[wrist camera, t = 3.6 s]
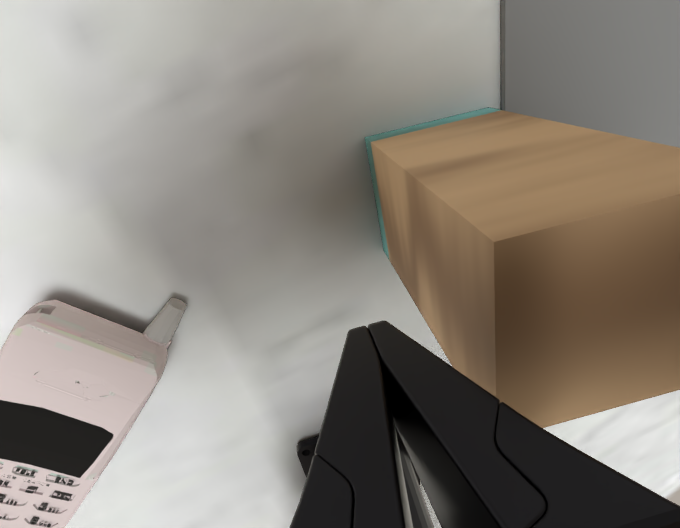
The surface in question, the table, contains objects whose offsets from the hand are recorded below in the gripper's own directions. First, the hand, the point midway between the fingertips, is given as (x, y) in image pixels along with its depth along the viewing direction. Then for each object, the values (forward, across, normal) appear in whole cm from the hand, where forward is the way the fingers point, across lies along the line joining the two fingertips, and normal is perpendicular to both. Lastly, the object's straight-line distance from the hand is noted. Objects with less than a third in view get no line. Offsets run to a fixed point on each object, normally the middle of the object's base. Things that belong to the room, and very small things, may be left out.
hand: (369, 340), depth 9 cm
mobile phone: (+9, +18, +9) cm, 22 cm away
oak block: (+8, -5, 0) cm, 10 cm away
